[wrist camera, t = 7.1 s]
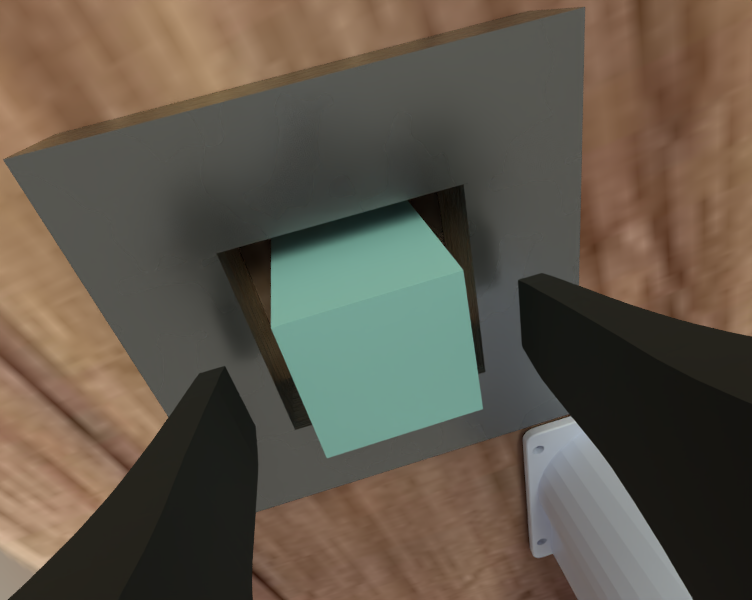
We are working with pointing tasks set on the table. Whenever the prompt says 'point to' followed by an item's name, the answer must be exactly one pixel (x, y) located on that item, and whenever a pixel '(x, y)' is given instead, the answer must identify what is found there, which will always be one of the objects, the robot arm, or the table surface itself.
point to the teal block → (373, 326)
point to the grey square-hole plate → (329, 218)
